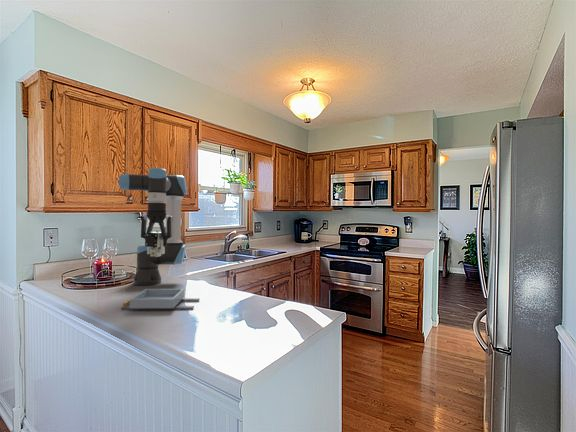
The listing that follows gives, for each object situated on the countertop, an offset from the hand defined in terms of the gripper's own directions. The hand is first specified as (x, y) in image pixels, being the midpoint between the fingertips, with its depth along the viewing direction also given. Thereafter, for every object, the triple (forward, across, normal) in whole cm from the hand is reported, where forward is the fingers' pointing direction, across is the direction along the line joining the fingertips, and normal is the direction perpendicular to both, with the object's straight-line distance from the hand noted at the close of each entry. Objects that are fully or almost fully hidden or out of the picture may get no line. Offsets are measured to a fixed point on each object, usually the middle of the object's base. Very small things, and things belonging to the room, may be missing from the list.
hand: (155, 253), depth 140 cm
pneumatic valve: (+1, 0, 0) cm, 1 cm away
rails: (+23, +3, 0) cm, 24 cm away
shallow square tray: (+22, +2, 0) cm, 22 cm away
